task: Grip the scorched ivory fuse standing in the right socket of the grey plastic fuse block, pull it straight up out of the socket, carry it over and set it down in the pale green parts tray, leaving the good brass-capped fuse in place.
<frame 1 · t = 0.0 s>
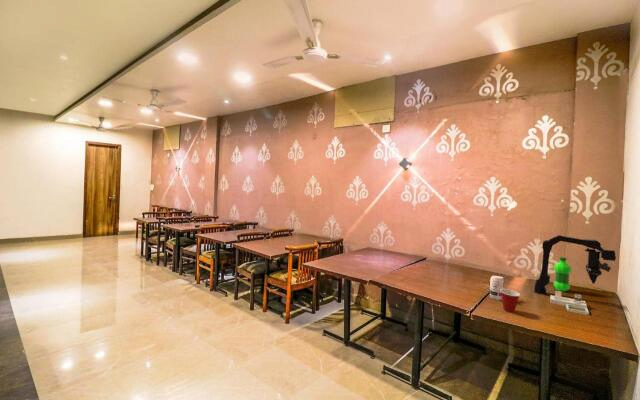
hand: (592, 281, 203), 15 cm above the table, fingers open, 9 cm apart
plastic cup: (509, 311, 189), on the table
plastic bottle: (561, 290, 230), on the table
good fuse: (557, 302, 202), point 1 cm above the table, touching fuse block
parts tray: (576, 311, 189), on the table
fuse block: (567, 305, 200), on the table
supplement can: (496, 298, 210), on the table
blown fuse: (577, 305, 197), point 1 cm above the table, touching fuse block
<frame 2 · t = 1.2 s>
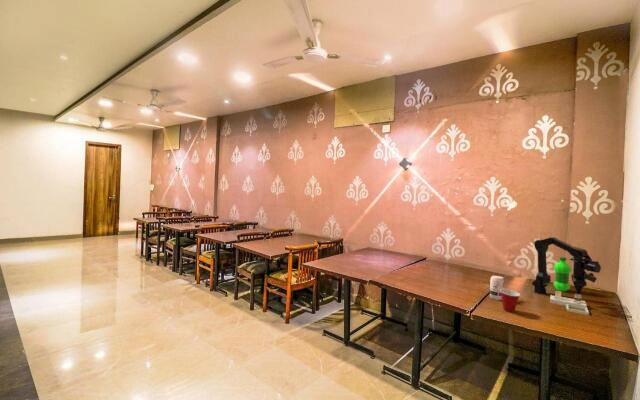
hand: (577, 292, 196), 10 cm above the table, fingers open, 9 cm apart
nothing on the table moved.
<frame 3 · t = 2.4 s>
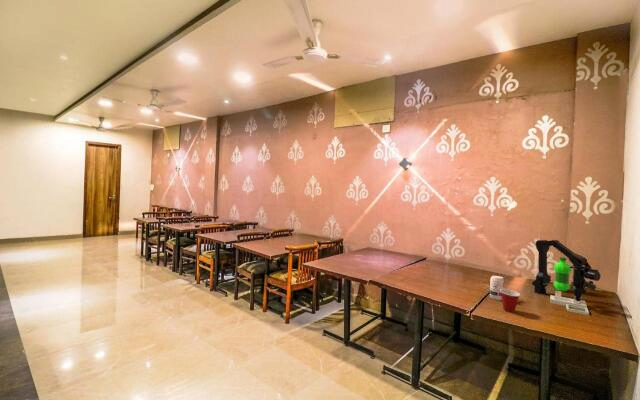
hand: (577, 300, 196), 5 cm above the table, fingers closed on blown fuse, 3 cm apart
blown fuse: (577, 305, 197), point 1 cm above the table, touching fuse block, gripper
everything else where it was.
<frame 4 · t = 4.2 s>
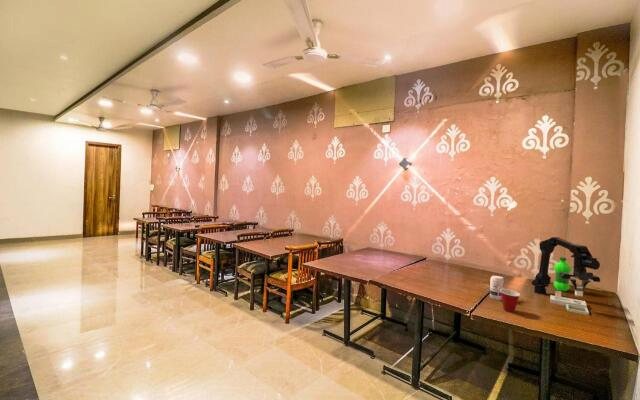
hand: (578, 290, 190), 13 cm above the table, fingers closed on blown fuse, 3 cm apart
blown fuse: (578, 296, 190), point 9 cm above the table, touching gripper
everything else where it was.
when the fingers open (5 cm above the table, at t = 5.9 s): blown fuse drops 1 cm, resting on parts tray.
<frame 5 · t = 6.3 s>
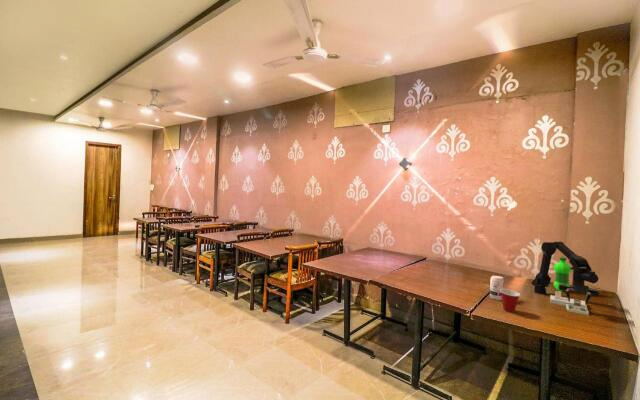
hand: (577, 303, 189), 5 cm above the table, fingers open, 7 cm apart
blown fuse: (576, 310, 189), point 1 cm above the table, touching parts tray
everything else where it was.
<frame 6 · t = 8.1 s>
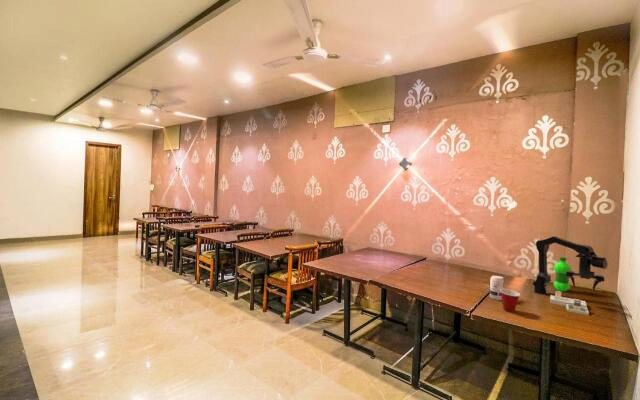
hand: (583, 288, 197), 12 cm above the table, fingers open, 9 cm apart
nothing on the table moved.
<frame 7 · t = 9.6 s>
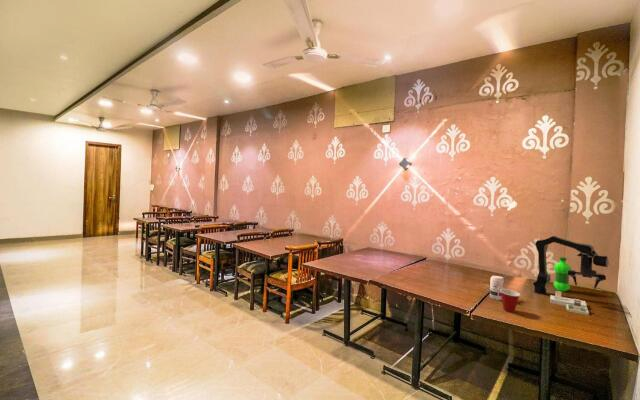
hand: (585, 287, 200), 12 cm above the table, fingers open, 9 cm apart
nothing on the table moved.
at the end: blown fuse inside the target area on the parts tray (0.1 cm from its centre), point 0.6 cm above the parts tray's base; the gripper is holding nothing; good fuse moved 0.0 cm from its start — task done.
